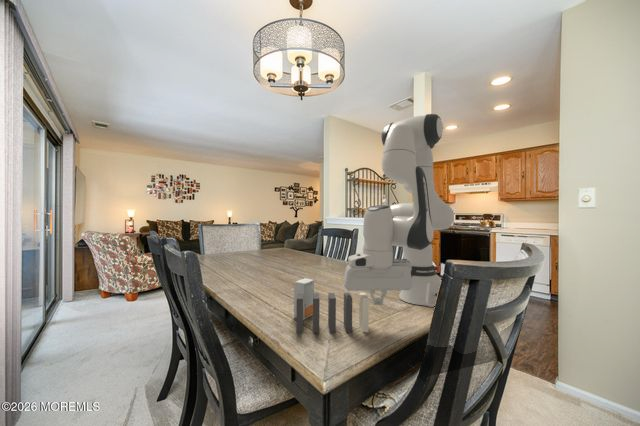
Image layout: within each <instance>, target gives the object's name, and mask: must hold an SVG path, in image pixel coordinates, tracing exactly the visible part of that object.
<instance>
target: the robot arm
mask: <svg viewBox="0 0 640 426" xmlns="http://www.w3.org/2000/svg"><path fill="white" fill-rule="evenodd" d="M443 133H444V124H443V121H442V119H441V117H440V116H439V115H438V114H436V113H427V114H426V115H416V116H410V117H408V118H405V119H401V120H399V121H395V122H391V123H388V124H386V125H385V126H384V128H383V129H382V131H381V142H382V145H383V150H382V158H381V170H382V172H383V174H384V175H385V176H386V177H387V178H388V179H390V180H391V181H393V182H395V183H398V184H401V185H403V187H404V189H405V190H406V192H408V193H410V194H411V195H412V202H401V203H396V204H391V205H390V206H389V205H385V204H383V205H382V204H379V205H372V206H371V205H370V206H369V207H367V208H366V209H365V213H364V218H363V226H362V227H363V231H362V235H363V239H364V243H363V246H362V247H363V248H362V251H361V252H359V253H355V254H352V255H348V258H347V261H348V265H346V268H345V270H344V275H343V276H344V278H343V287H344V288H345V289H346V291H348V292H353V291H354V292H356V291H358V292H360V291H361V292H363V291H364V292H365V291H367V292H368V293H369V295H370V298H371V303H372V305H373V306H384V299H385V297H386V296H387V295H388V291H399V296H398V298H399V299H400V300H401V301H403V302H406V303H409V304H413V305H418V306H419V305H420V306H424V307H425V306H427V307H430V308H435V307H434V306H435V302H436V298H437V294H438V290H439V287H440V283H441V281H440V280H441V279H442V278H441V277H440V276H439V275H437V272H441V271H442V267H441V266H438V265H433V263H434V262H433V261H434V260H433V257H434V256H433V253H434V251H433V245H432V243H433V242H434V231H441V230H448V229H450V227H451V226H452V225H453V223H454V221H455V213H454V210H453V209H452V207H451V206H450V205H449V204H448V203H446V202H444V200H443V199H441V197H439V195H438V193H437V191H436V188H435V181H434V180H435V179H434V160H433V152H432V149H434V148H435V146H436V144H438V142H439V141H440V140H441V138H442V137H443ZM393 247H401V248H402V253H403V254H402V256H403V258H394V248H393ZM376 291H377V292H378V291H380V296H379V297H375V296H374V295H375V294H376V293H375V292H376Z"/></svg>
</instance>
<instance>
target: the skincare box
mask: <svg viewBox="0 0 640 426" xmlns="http://www.w3.org/2000/svg"><path fill="white" fill-rule="evenodd" d="M293 285H294V289H293V318H295V319H296V315H297V293H303V321H305V320H306V319H308V318H309V317H311V316H312V317H313V293H315V279H311V278H307V277H306V278H305V277H304V278H301V279H298V280H296V281H294V284H293Z"/></svg>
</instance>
